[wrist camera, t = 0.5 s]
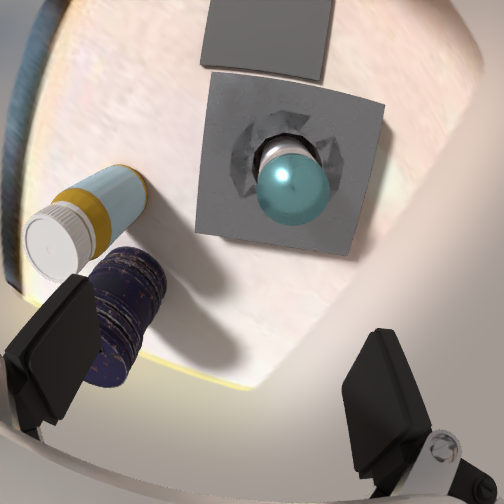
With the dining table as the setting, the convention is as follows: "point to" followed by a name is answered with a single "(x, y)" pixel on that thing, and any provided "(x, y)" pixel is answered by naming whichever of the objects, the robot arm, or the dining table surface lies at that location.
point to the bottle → (83, 221)
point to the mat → (267, 35)
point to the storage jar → (123, 310)
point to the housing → (273, 123)
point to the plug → (291, 183)
